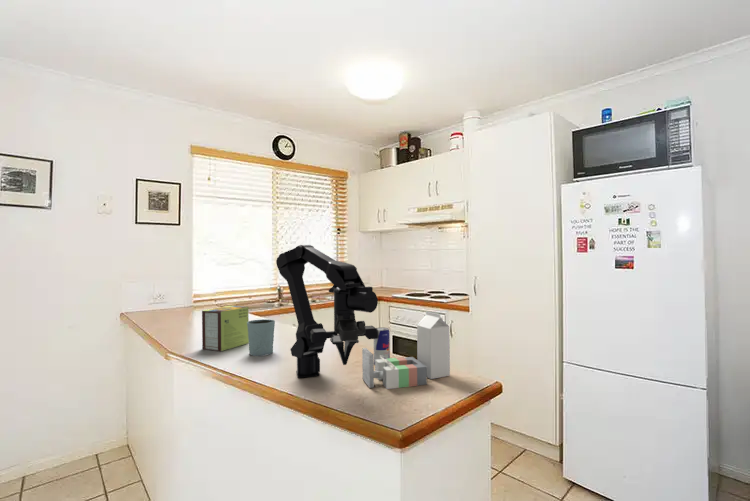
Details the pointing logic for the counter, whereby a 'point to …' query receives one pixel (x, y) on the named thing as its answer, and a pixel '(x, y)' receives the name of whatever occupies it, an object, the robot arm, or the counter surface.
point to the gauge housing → (402, 372)
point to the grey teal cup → (261, 337)
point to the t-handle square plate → (372, 367)
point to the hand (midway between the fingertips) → (344, 364)
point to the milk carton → (434, 345)
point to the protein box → (224, 327)
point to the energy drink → (382, 344)
